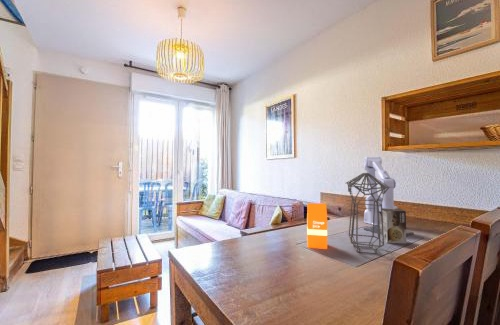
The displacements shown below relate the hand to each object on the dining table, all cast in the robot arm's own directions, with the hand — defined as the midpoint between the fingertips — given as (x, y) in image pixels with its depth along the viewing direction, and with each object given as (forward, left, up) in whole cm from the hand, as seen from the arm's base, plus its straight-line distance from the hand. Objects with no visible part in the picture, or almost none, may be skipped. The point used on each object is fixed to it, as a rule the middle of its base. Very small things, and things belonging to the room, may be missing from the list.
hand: (387, 223), depth 137 cm
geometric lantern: (+16, -39, -5) cm, 42 cm away
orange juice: (+1, -54, -5) cm, 54 cm away
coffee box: (+13, -15, -5) cm, 20 cm away
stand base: (0, 0, -5) cm, 5 cm away
